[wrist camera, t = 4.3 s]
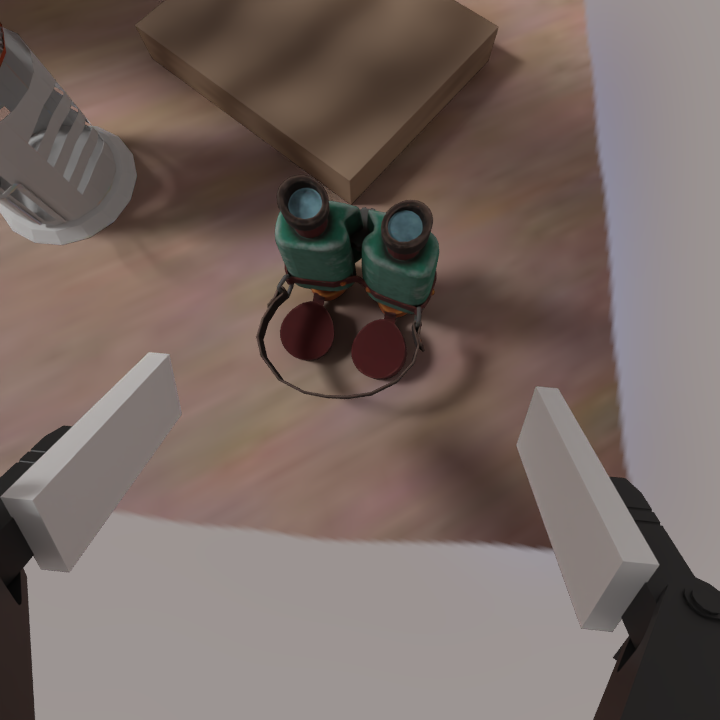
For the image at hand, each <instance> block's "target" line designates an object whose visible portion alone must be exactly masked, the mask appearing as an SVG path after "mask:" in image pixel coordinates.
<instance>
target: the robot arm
mask: <svg viewBox="0 0 720 720" xmlns="http://www.w3.org/2000/svg"><path fill="white" fill-rule="evenodd" d="M181 415H182V412H181V407H180V403H179V398H178V393H177V388H176V383H175V379H174V374H173V369H172V364H171V359H170V355H169V354H162V353H151V352H149V353H147V354H146V355H145V356H144V357H143V358H142V359H141V360H140V361H139V362H138V363H137V364H136V365H135V366H134V367H133V368H132V369H131V370H130V371H129V372H128V373H127V374H126V375H125V376H124V377H123V378H122V379H121V380H120V381H119V382H118V383H117V384H116V385H115V386H114V387H113V388H112V389H111V390H109V391H108V392H107V393H106V394H105V395H104V396H103V397H102V398H101V399H100V400H99V401H98V402H97V403H96V404H95V405H94V406H93V407H92V408H91V409H90V410H89V411H88V412H87V413H86V414H85V415H84V416H83V417H82V418H81V419H80V420H79V421H78V422H77V423H76V424H75V425H74V426H62V427H60V428H59V429H57V430H55V431H53V432H52V433H50V434H48V435H46V436H45V437H44V438H43V439H41V440H40V441H39V442H38V443H37V444H36V445H35V446H34V447H33V448H32V449H31V451H30V452H27V453H26V454H25V455H24V456H23V457H22V458H21V459H20V461H19V463H16V464H14V465H13V466H12V467H11V468H10V469H9V470H8V471H7V472H6V473H5V474H4V475H3V476H1V477H0V720H35V712H34V695H33V677H32V660H31V642H30V624H29V607H28V589H27V576H26V573H25V571H24V569H23V567H24V566H25V565H26V564H27V563H28V561H29V560H30V559H31V558H32V556H34V558H35V560H36V561H37V563H38V565H39V567H40V568H41V569H42V570H51V571H60V572H70V571H71V570H72V568H73V567H74V565H75V564H76V563H77V561H78V560H79V558H80V557H81V556H82V554H83V553H84V551H85V550H86V549H87V547H88V546H89V544H90V543H91V541H92V540H93V539H94V537H95V536H96V534H97V533H98V532H99V530H100V529H101V527H102V526H103V525H104V523H105V522H106V520H107V519H108V518H109V516H110V515H111V513H112V512H113V510H114V509H115V508H116V506H117V505H118V503H119V502H120V501H121V499H122V498H123V496H124V495H125V494H126V492H127V491H128V489H129V488H130V487H131V485H132V484H133V482H134V481H135V479H136V478H137V477H138V475H139V474H140V472H141V471H142V470H143V468H144V467H145V465H146V464H147V463H148V461H149V460H150V458H151V457H152V456H153V454H154V453H155V451H156V450H157V449H158V447H159V446H160V444H161V443H162V441H163V440H164V439H165V437H166V436H167V434H168V433H169V432H170V430H171V429H172V427H173V426H174V425H175V423H176V422H177V420H178V419H179V418H180V416H181ZM516 446H517V449H518V451H519V454H520V457H521V460H522V463H523V466H524V468H525V471H526V474H527V477H528V480H529V483H530V485H531V488H532V491H533V494H534V497H535V499H536V502H537V505H538V508H539V511H540V514H541V516H542V519H543V522H544V525H545V528H546V531H547V533H548V536H549V539H550V542H551V545H552V548H553V550H554V553H555V556H556V559H557V561H558V565H559V567H560V570H561V573H562V576H563V579H564V582H565V584H566V587H567V590H568V593H569V596H570V598H571V601H572V604H573V607H574V610H575V612H576V615H577V618H578V621H579V624H580V627H581V629H590V630H600V631H608V632H613V631H614V629H615V628H616V626H617V625H618V623H619V622H620V621H621V619H622V620H623V622H624V625H625V627H626V629H627V631H628V634H629V637H628V638H627V639H626V641H625V642H624V643H623V645H622V646H621V647H620V649H619V650H618V652H617V653H616V654H615V656H614V657H613V658H614V659H615V660H617V662H616V664H615V667H614V670H613V672H612V674H611V677H610V680H609V682H608V684H607V687H606V689H605V692H604V694H603V697H602V699H601V702H600V704H599V707H598V710H597V712H596V714H595V717H594V719H593V720H720V591H718V590H717V589H716V588H714V587H713V586H712V585H710V584H708V583H706V582H704V581H702V580H700V579H698V578H696V577H695V576H694V575H693V573H692V572H691V570H690V568H689V567H688V565H687V564H686V562H685V561H684V559H683V557H682V556H681V555H680V553H679V551H678V550H677V548H676V547H675V545H674V543H673V542H672V540H671V539H670V537H669V535H668V534H667V532H666V531H665V529H664V528H663V526H660V521H659V520H658V518H657V517H656V515H655V513H654V512H652V509H651V507H650V506H649V504H648V502H647V501H646V500H645V498H644V496H643V495H642V493H641V492H640V491H639V490H638V489H637V488H635V487H634V486H633V485H632V484H631V483H630V482H629V481H628V480H627V479H626V478H617V477H609V476H608V474H607V473H606V471H605V469H604V467H603V466H602V464H601V462H600V460H599V459H598V457H597V455H596V453H595V452H594V450H593V448H592V447H591V445H590V443H589V441H588V440H587V438H586V436H585V434H584V433H583V431H582V429H581V427H580V426H579V424H578V422H577V420H576V419H575V417H574V415H573V414H572V412H571V410H570V408H569V407H568V405H567V403H566V401H565V400H564V398H563V396H562V394H561V393H560V391H559V389H558V388H549V387H537V386H536V387H535V390H534V393H533V397H532V400H531V403H530V406H529V409H528V412H527V415H526V418H525V421H524V424H523V427H522V430H521V433H520V436H519V439H518V442H517V445H516Z"/></svg>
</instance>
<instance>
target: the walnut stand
mask: <svg viewBox="0 0 720 720" xmlns="http://www.w3.org/2000/svg"><path fill="white" fill-rule="evenodd" d="M135 26H136V28H137V30H138V32H139V34H140V36H141V38H142V40H143V42H144V43H145V45H146V47H147V49H148V51H149V53H150V55H151V57H152V58H153V59H154V60H155V61H157V62H158V63H159V64H161V65H162V66H163V67H165V68H166V69H167V70H169V71H170V72H172V73H173V74H174V75H176V76H177V77H178V78H180V79H181V80H182V81H184V82H185V83H186V84H188V85H189V86H191V87H192V88H193V89H195V90H196V91H197V92H199V93H200V94H201V95H203V96H204V97H205V98H207V99H208V100H210V101H211V102H212V103H214V104H215V105H216V106H218V107H219V108H220V109H222V110H223V111H224V112H226V113H227V114H229V115H230V116H231V117H233V118H234V119H235V120H237V121H238V122H239V123H241V124H242V125H243V126H245V127H246V128H248V129H249V130H250V131H252V132H253V133H254V134H256V135H257V136H258V137H260V138H261V139H262V140H264V141H265V142H267V143H268V144H269V145H271V146H272V147H273V148H275V149H276V150H277V151H279V152H280V153H281V154H283V155H284V156H285V157H287V158H288V159H290V160H291V161H292V162H294V163H295V164H296V165H298V166H299V167H300V168H302V169H303V170H304V171H306V172H307V173H309V174H310V175H311V176H313V177H314V178H315V179H317V180H318V181H319V182H321V183H322V184H323V185H325V186H326V187H328V188H329V189H330V190H332V191H333V192H334V193H336V194H337V195H338V196H340V197H341V198H342V199H344V200H345V201H347V202H348V203H349V204H352V203H353V202H354V201H355V200H356V199H357V198H358V197H359V196H360V195H361V194H362V193H363V192H364V191H365V190H366V188H367V187H368V186H369V185H370V184H371V183H372V182H373V181H374V180H375V179H376V178H377V177H378V176H379V175H380V174H381V173H382V172H383V171H384V170H385V169H386V167H387V166H388V165H389V164H390V163H391V162H392V161H393V160H394V159H395V158H396V157H397V156H398V155H399V154H400V153H401V152H402V151H403V150H404V149H405V148H406V146H407V145H408V144H409V143H410V142H411V141H412V140H413V139H414V138H415V137H416V136H417V135H418V134H419V133H420V132H421V131H422V130H423V129H424V128H425V127H426V125H427V124H428V123H429V122H430V121H431V120H432V119H433V118H434V117H435V116H436V115H437V114H438V113H439V112H440V111H441V110H442V109H443V108H444V107H445V106H446V105H447V103H448V102H449V101H450V100H451V99H452V98H453V97H454V96H455V95H456V94H457V93H458V92H459V91H460V90H461V89H462V88H463V87H464V86H465V85H466V84H467V82H468V81H469V80H470V79H471V78H472V77H473V76H474V75H475V74H476V73H477V72H478V71H479V70H480V69H481V68H482V67H483V66H484V65H485V64H486V63H487V61H488V60H489V57H490V54H491V51H492V47H493V44H494V41H495V37H496V34H497V31H498V26H497V25H495V24H493V23H492V22H490V21H488V20H487V19H485V18H483V17H482V16H480V15H478V14H477V13H475V12H473V11H472V10H470V9H468V8H467V7H465V6H463V5H461V4H460V3H458V2H456V1H455V0H165V1H164V2H162V3H161V4H160V5H159V6H158V7H156V8H155V9H154V10H153V11H151V12H150V13H149V14H148V15H147V16H145V17H144V18H143V19H142V20H141V21H139V22H138V23H137V24H136V25H135Z"/></svg>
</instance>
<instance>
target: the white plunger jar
mask: <svg viewBox="0 0 720 720" xmlns="http://www.w3.org/2000/svg"><path fill="white" fill-rule="evenodd" d="M54 86H55V87H57V88H58V89H60V90H62V91H63V92H64V94H63V95H62V94H60V93H58V92H56V91H55V90H54ZM71 105H72V106H74V107H75V108H77V109H78V107H77V106H76V105H75V104H74V103H73V102H72V100H71V99H70V97H69V96H68V95H67V94H66V92H65V91H64V90H63V89H62V88H61V87H60V85H59V84H58V83H57V82H56V80H55V79H54V78H53V76H52V75H51V74H50V73H49V72H48V70H47V69H46V68H45V67H44V65H43V64H42V63H41V62H40V61H39V59H38V58H37V57H36V56H35V54H34V53H33V52H32V51H31V50H30V48H29V47H28V46H27V45H26V44H25V42H24V41H23V40H22V39H21V37H20V36H19V35H18V34H17V33H15V32H12V31H10V30H8V29H6V28H3V27H2V24H1V23H0V109H1V108H2V107H3V106H5V107H6V108H7V109H8V110H9V111H10V112H11V113H10V114H9V115H7V116H6V117H5V118H4V119H3V120H2V121H0V212H1V214H2V215H3V217H4V218H5V220H6V221H7V223H8V224H9V226H10V227H11V229H12V230H13V231H14V232H16V233H18V234H20V235H22V236H23V237H25V238H27V239H29V240H31V241H33V242H34V243H45V244H56V245H64V244H68V243H72V242H75V241H79V240H83V239H87V238H90V237H92V236H93V235H95V234H96V233H98V232H99V231H101V230H102V229H104V228H105V227H107V226H108V225H110V224H111V223H113V222H114V221H115V220H116V219H117V217H118V216H119V215H120V213H121V212H122V211H123V209H124V208H125V207H126V205H127V204H128V203H129V201H130V200H131V197H132V193H133V189H134V186H135V182H136V178H137V174H136V168H135V163H134V158H133V154H132V153H131V151H130V150H129V149H128V148H127V146H126V145H125V144H124V143H123V141H122V140H121V139H120V138H119V137H118V136H116V135H114V134H112V133H110V132H108V131H106V130H104V129H102V128H100V127H97V126H92V125H91V124H90V122H89V121H88V120H87V118H86V117H85V116H84V115H83V113H82V112H81V111H80V110H79V109H78V112H76V111H74V110H73V109H71V108H70V107H71ZM85 121H86V122H88V123H89V124H90V125H91V126H87V125H85Z"/></svg>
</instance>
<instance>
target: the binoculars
mask: <svg viewBox="0 0 720 720" xmlns="http://www.w3.org/2000/svg"><path fill="white" fill-rule="evenodd" d="M277 204H278V207H279V209H280V212H279V215H278V219H277V222H276V226H275V240H276V244H277V246H278V249H279V251H280V253H281V256H282V258H283V261H284V263H285V272H286V275H284V276H283V278H282V279H281V281H280V282H279V284H278V286H277V290H276V293H275V295H274V297H273V298H272V299H271V301H270V302H269V303H268V304H267V305H268V309H267V311H266V312H265V314H264V316H263V317H262V319H261V323H260V326H259V329H258V333H257V336H256V338H257V342H258V346H259V351H260V355H261V357H262V358H263V360H264V361H265V363H266V364H267V365H268V367H269V368H270V369H271V371H272V372H273V374H274V375H275V376H276V378H277V379H278V380H279V381H281V382H283V383H285V384H287V385H288V386H290V387H292V388H294V389H296V390H298V391H300V392H302V393H304V394H309V395H314V396H319V397H324V398H336V399H351V398H358V397H365V396H372V395H374V394H376V393H378V392H380V391H382V390H384V389H386V388H388V387H390V386H392V385H394V384H396V383H397V382H398V381H399V380H400V379H401V378H402V377H403V375H404V374H405V373H406V372H407V371H408V370H409V369H410V368H411V367H412V366H413V364H414V362H415V359H416V356H417V352H418V349H420V350H421V351H422V352H424V347H423V345H422V343H421V339H420V337H419V334H420V330H421V326H422V323H421V313H422V310H423V309H424V308H425V306H426V305H427V303H428V302H429V300H430V297H431V295H434V293H435V291H434V289H433V288H434V285H435V282H436V267H437V262H438V256H439V244H438V241H437V239H436V237H435V236H434V235H433V234H432V233H431V229H432V224H433V217H432V213H431V211H430V209H429V208H428V206H426V205H425V204H424V203H422V202H420V201H416V200H406V201H402V202H399V203H397V204H395V205H394V206H393V207H391V208H390V209H389V210H388V211H387V212H386V213H384V212H379V211H375V209H373V208H371V209H366V207H365V208H362V209H361V210H360V209H359V208H358V207H356V206H352V205H348V204H345V203H340V202H335V201H329V199H328V196H327V193H326V191H325V189H324V187H323V186H322V185H321V184H320V183H319V182H318V181H317V180H315V179H313V178H311V177H309V176H305V175H296V176H292V177H289V178H288V179H286V180H285V181H284V182H283V183H282V184H281V185H280V187H279V189H278V192H277ZM361 258H362V275H363V279H362V278H361V277H359V276H356V269H355V263H356V262H357V261H359V260H360V259H361ZM290 276H291V277H290ZM285 281H286V282H287V283H288V284H289V285H290V286H289V289H288V291H286V289H285V288H284V287H283V286H282V285H283V283H284V282H285ZM355 282H358V283H360V284H361V285H362V286H363V287H364V288H365V290H366V292H367V293H368V295H369V296H370V297H371V298H372V299H373V300H375V301H377V302H378V305H379V307H380V309H381V311H382V312H383V313H384V314H385V318H384V319H379V320H375V321H373V322H371V323H369V324H367V325H366V326H365V327H364V328H362V330H361V331H360V332H359V333H358V334H357V336H356V337H355V339H354V341H353V344H352V350H351V353H352V359H353V363H354V364H355V366H356V368H357V369H358V370H359V371H360V372H361V373H363V374H364V375H366V376H368V377H371V378H374V379H387V378H390V377H392V376H394V375H396V374H397V373H398V372H399V371H400V370H401V369H402V367H403V366H404V363H405V361H406V356H407V349H406V344H405V340H404V338H403V335H402V334H401V332H400V330H399V329H398V328H397V326H396V325H395V321H396V317H401V316H404V315H406V314H407V313H409V314H415V319H414V322H413V325H412V335H413V339H414V342H415V346H416V350H415V353H414V357H413V360H412V363H411V364H410V365H409V366H408V367H407V368H406V369H405V370H404V371H403V373H402V374H401V375H400V376H399V377H398V378H397V379H396V380H394V381H392V382H390V383H388V384H386V385H384V386H382V387H380V388H378V389H376V390H374V391H372V392H369V393H362V394H356V395H349V396H338V395H323V394H318V393H312V392H307V391H303V390H301V389H300V388H298V387H296V386H294V385H292V384H290V383H288V382H286V381H284V380H283V378H282V377H281V376H280V374H279V373H278V372H277V370H276V369H275V367H274V366H273V365H272V363H271V362H270V361H269V359H268V358H267V354H266V350H265V345H264V341H263V339H264V336H265V333H266V329H267V326H268V323H269V321H270V320H271V318H272V316H273V315H274V313H275V312H276V310H277V308H278V307H279V306H280V305H281V304H282V303H283V302H284V301H286V300H287V299H288V298H289V296H290V294H291V291H292V289H293V286H294V283H296V284H297V285H298V286H300V287H304V288H309V289H311V290H312V292H313V293H314V298H313V302H312V301H310V302H305V303H302V304H300V305H298V306H296V307H295V308H294V309H292V310H291V311H290V312H289V313H288V314H287V316H286V317H285V319H284V320H283V323H282V325H281V330H280V338H281V341H282V344H283V346H284V348H285V349H286V350H287V351H288V352H289V353H290V354H291V355H293V356H294V357H296V358H299V359H301V360H306V361H308V360H315V359H319V358H320V357H322V356H324V355H325V354H326V353H327V352H328V351H329V349H330V348H331V346H332V344H333V340H334V327H333V322H332V319H331V317H330V314H329V313H328V311H327V310H326V308H325V307H324V306H323V305H324V301H330V300H333V299H336V298H337V297H339V296H340V295H341V294H342V293H344V292H345V291H346V289H347V288H349V287H350V286H352V285H353V284H354V283H355ZM416 332H417V334H416Z"/></svg>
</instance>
